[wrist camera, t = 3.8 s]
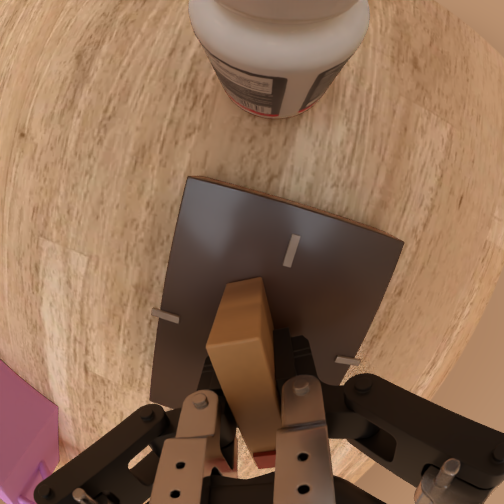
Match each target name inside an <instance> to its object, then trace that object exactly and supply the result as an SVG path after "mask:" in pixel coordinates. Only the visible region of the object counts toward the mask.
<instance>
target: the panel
mask: <svg viewBox="0 0 504 504" xmlns="http://www.w3.org/2000/svg"><path fill="white" fill-rule="evenodd" d="M403 245H404V242H403V241H402V240H400V239H398V238H396V237H394V236H392V235H390V234H388V233H386V232H384V231H382V230H379V229H376V228H373V227H370V226H367V225H365V224H362V223H359V222H356V221H353V220H350V219H347V218H344V217H341V216H338V215H335V214H332V213H329V212H326V211H323V210H319V209H316V208H313V207H310V206H307V205H304V204H300V203H297V202H294V201H290V200H287V199H284V198H280V197H277V196H273V195H270V194H267V193H263V192H259V191H256V190H252V189H249V188H245V187H241V186H238V185H234V184H230V183H226V182H223V181H219V180H215V179H211V178H207V177H203V176H188V177H187V180H186V184H185V188H184V192H183V196H182V201H181V205H180V209H179V214H178V218H177V223H176V227H175V232H174V237H173V241H172V246H171V251H170V256H169V262H168V267H167V272H166V278H165V284H164V289H163V295H162V301H161V308H160V310H159V309H156V308H152V313H151V315H153V316H156V317H159V321H158V328H157V335H156V343H155V351H154V359H153V368H152V377H151V387H150V399H149V400H150V401H151V402H154V403H157V404H160V405H163V406H166V407H169V408H172V409H177V408H180V407H182V406H183V402H184V400H185V398H186V397H187V396H188V395H190V394H191V393H193V392H195V391H196V390H197V387H198V383H199V380H200V376H201V373H202V370H203V367H204V363H205V359H206V357H207V356H208V352H207V349H206V344H207V341H208V338H209V335H210V332H211V329H212V326H213V323H214V320H215V317H216V314H217V311H218V308H219V305H220V302H221V299H222V296H223V293H224V290H225V287H226V284H228V283H233V282H238V281H243V280H248V279H253V278H257V277H261V278H262V280H263V284H264V288H265V292H266V296H267V300H268V305H269V309H270V313H271V317H272V321H273V326H274V330H276V329H281V328H286V327H289V331H290V335H291V337H295V336H300V335H303V336H304V337H305V338H306V339H308V340H309V344H310V348H311V352H312V356H313V360H314V364H315V368H316V372H317V376H318V378H319V379H320V380H321V381H322V382H323V383H326V384H328V385H335V386H339V385H340V383H341V381H342V379H343V378H344V376H345V374H346V372H347V370H348V369H349V367H350V365H355V366H359V364H360V362H361V359H356V358H354V357H355V355H356V354H357V352H358V350H359V348H360V346H361V344H362V342H363V340H364V338H365V336H366V334H367V332H368V330H369V327H370V325H371V323H372V321H373V319H374V317H375V315H376V312H377V310H378V308H379V306H380V303H381V301H382V299H383V296H384V294H385V292H386V289H387V287H388V285H389V282H390V280H391V277H392V275H393V272H394V269H395V267H396V264H397V262H398V259H399V256H400V254H401V251H402V248H403Z"/></svg>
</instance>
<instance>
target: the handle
mask: <svg viewBox="0 0 504 504" xmlns="http://www.w3.org/2000/svg"><path fill="white" fill-rule="evenodd" d="M273 330H274V326H273V321H272V317H271V313H270V309H269V305H268V300H267V296H266V292H265V288H264V284H263V280H262V278H261V277H257V278H253V279H248V280H243V281H238V282H233V283H228V284H226V287H225V290H224V293H223V296H222V299H221V302H220V305H219V308H218V311H217V314H216V317H215V320H214V323H213V326H212V329H211V332H210V335H209V338H208V341H207V344H206V349H207V352H208V355H209V357H210V360H211V362H212V365H213V368H214V370H215V373H216V375H217V378H218V380H219V383H220V385H221V388H222V390H223V393H224V395H225V398H226V400H227V402H228V405H229V407H230V409H231V412H232V414H233V416H234V419H235V421H236V423H237V425H238V428H239V430H240V432H241V434H242V437H243V439H244V441H245V443H246V445H247V447H248V450H249V452H250V454H251V456H252V458H253V460H254V462H255V464H256V466H257V467H258V469H263V468H272V467H275V461H276V440H277V429H278V428H281V398H280V395H279V391H278V387H277V383H276V377H275V359H274V342H273Z"/></svg>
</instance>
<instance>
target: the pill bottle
mask: <svg viewBox="0 0 504 504" xmlns="http://www.w3.org/2000/svg"><path fill="white" fill-rule="evenodd" d="M188 10H189V17H190V21H191V24H192V27H193V30H194V33H195V35H196V37H197V38H198V39H199V41H200V43H201V45H202V46H203V48H204V50H205V52H206V54H207V56H208V58H209V60H210V62H211V64H212V66H213V68H214V70H215V72H216V74H217V76H218V78H219V80H220V82H221V84H222V86H223V88H224V90H225V91H226V93H227V95H228V96H229V97H230V99H231V100H232V101H233V102H234V103H235V104H236V105H238V106H239V107H240V108H242V109H243V110H245V111H247V112H249V113H251V114H254V115H256V116H260V117H264V118H273V119H277V118H287V117H292V116H296V115H298V114H301V113H303V112H305V111H306V110H308V109H309V108H311V107H312V106H313V105H314V104H315V103H317V102H318V100H319V99H320V98H321V96H322V95H323V94H324V93H325V92H326V90H327V88H328V87H329V85H330V84H331V83H332V81H333V80H334V78H335V77H336V76H337V74H338V73H339V72H340V70H341V69H342V68H343V66H344V65H345V64H346V62H347V61H348V60H349V59H350V57H351V56H352V55H353V54H354V53H355V51H356V50H357V49H358V48H359V46H360V44H361V43H362V41H363V39H364V37H365V35H366V33H367V30H368V26H369V21H370V10H369V4H368V0H189V9H188Z"/></svg>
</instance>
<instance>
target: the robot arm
mask: <svg viewBox="0 0 504 504" xmlns="http://www.w3.org/2000/svg"><path fill="white" fill-rule="evenodd" d="M273 342H274V359H275V377H276V383H277V387H278V391H279V395H280V398H281V428H278V429H277V440H276V461H275V472H271V473H268V474H265V475H262V476H258V477H255V478H251V479H238V474H237V467H238V440H237V437H236V428H238V425H237V423H236V421H235V419H234V416H233V414H232V412H231V409H230V407H229V405H228V402H227V400H226V398H225V395H224V393H223V390H222V388H221V385H220V383H219V380H218V378H217V375H216V373H215V370H214V368H213V365H212V362H211V360H210V357H209V355H208V356H207V357H206V359H205V363H204V367H203V370H202V373H201V376H200V380H199V383H198V387H197V390H196V391H195V392H193V393H191V394H190V395H188V396H187V397H186V398H185V400H184V402H183V406H182V407H180V408H177V409H174V410H170V411H166V412H165V411H164V409H163V408H162V407H161V406H160V405H158V404H148V405H144V406H142V407H140V408H139V409H137V410H136V411H135V412H134V413H132V414H131V415H130V416H129V417H127V418H126V419H125V420H124V421H122V422H121V423H120V424H119V425H117V426H116V427H115V428H113V429H112V430H111V431H110V432H108V433H107V434H106V435H104V436H103V437H102V438H100V439H99V440H98V441H97V442H95V443H94V444H93V445H91V446H90V447H89V448H87V449H86V450H85V451H83V452H82V453H81V454H79V455H78V456H76V457H75V458H74V459H72V460H71V461H70V462H68V463H67V464H66V465H64V466H63V467H61V468H60V469H59V470H57V471H56V472H54V473H53V474H51V475H50V476H49V477H47V478H46V479H44V480H43V481H41V482H40V483H39V484H38V485H37V486H36V488H35V490H34V493H33V496H34V500H35V502H36V503H37V504H143V503H144V502H145V501H146V500H147V499H148V498H149V497H150V501H148V502H147V503H146V504H386V503H385V502H383V501H381V500H379V499H377V498H376V497H374V496H372V495H370V494H369V493H367V492H365V491H364V490H362V489H360V488H359V487H357V486H355V485H354V484H352V483H351V482H349V481H347V480H345V479H343V478H340V477H337V476H334V475H333V472H332V463H331V454H330V446H329V438H333V439H347V441H348V442H349V443H350V444H352V445H353V446H354V447H356V448H357V449H359V450H360V451H361V452H363V453H364V454H366V455H367V456H369V457H370V458H371V459H373V460H374V461H376V462H377V463H379V464H380V465H382V466H383V467H385V468H386V469H388V470H389V471H391V472H393V473H394V474H395V475H397V476H399V477H400V478H402V479H403V480H405V481H406V482H408V483H410V484H411V485H413V486H414V487H416V488H417V489H416V491H415V494H414V501H415V504H484V502H485V501H486V499H487V498H488V497H489V496H490V495H491V494H492V493H493V492H494V491H495V489H496V488H497V487H498V486H499V485H500V484H501V483H502V481H503V480H504V433H502V432H499V431H497V430H494V429H492V428H489V427H487V426H485V425H482V424H480V423H477V422H475V421H473V420H470V419H468V418H466V417H463V416H461V415H459V414H457V413H454V412H452V411H450V410H448V409H445V408H443V407H441V406H439V405H437V404H434V403H432V402H430V401H428V400H426V399H424V398H422V397H420V396H417V395H415V394H413V393H411V392H409V391H407V390H405V389H403V388H401V387H399V386H397V385H395V384H393V383H391V382H389V381H387V380H385V379H383V378H381V377H379V376H377V375H374V374H369V373H364V374H358V375H355V376H353V377H351V378H350V379H349V380H347V382H346V383H345V384H344V385H342V386H335V385H328V384H326V383H323V382H322V381H321V380H320V379H319V378H318V376H317V372H316V368H315V364H314V360H313V356H312V352H311V348H310V344H309V340H308V339H306V338H305V337H304V336H303V335H300V336H295V337H291V335H290V331H289V327H286V328H281V329H276V330H273ZM148 445H149V446H150V447H151V449H152V451H151V452H150V453H149V454H148V455H147V456H146V457H144V458H143V459H142V460H141V461H140V462H139V463H138V464H136V465H135V466H134V467H133V468H132V469H128V463H129V462H130V460H131V459H133V458H134V457H135V456H136V455H137V454H138V453H140V452H141V451H142V450H143V449H144V448H145V447H147V446H148Z"/></svg>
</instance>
